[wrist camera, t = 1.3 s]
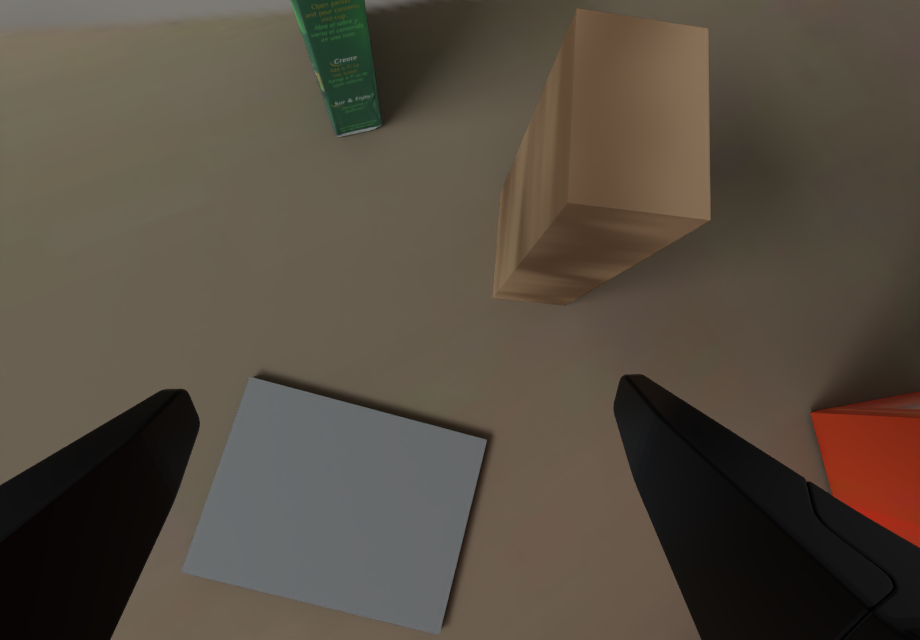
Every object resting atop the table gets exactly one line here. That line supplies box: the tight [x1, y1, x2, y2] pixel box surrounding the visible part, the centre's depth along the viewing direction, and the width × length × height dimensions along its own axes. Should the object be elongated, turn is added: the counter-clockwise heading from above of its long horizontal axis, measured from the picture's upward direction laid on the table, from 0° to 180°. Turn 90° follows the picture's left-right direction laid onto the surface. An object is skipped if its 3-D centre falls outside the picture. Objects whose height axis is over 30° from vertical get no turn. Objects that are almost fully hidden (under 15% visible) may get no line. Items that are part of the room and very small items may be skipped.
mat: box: [181, 377, 487, 635], centre depth 21 cm, size 12×9×1 cm
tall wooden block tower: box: [493, 8, 711, 305], centre depth 18 cm, size 4×6×12 cm, turn 175°
